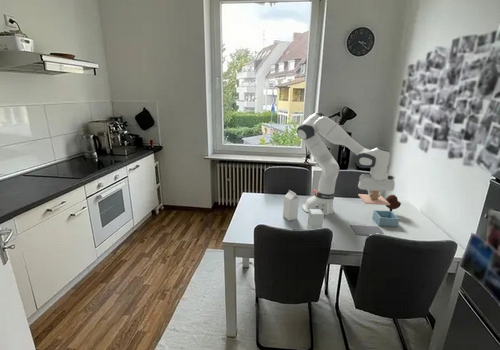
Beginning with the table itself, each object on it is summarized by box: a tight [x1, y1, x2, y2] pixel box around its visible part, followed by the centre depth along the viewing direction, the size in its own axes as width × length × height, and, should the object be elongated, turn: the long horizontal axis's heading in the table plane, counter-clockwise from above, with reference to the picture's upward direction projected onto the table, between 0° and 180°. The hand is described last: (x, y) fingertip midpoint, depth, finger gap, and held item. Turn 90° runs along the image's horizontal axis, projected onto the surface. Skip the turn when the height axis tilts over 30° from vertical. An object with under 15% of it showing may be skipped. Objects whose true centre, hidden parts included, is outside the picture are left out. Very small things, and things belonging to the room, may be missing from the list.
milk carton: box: [282, 189, 300, 221], centre depth 186 cm, size 7×7×19 cm
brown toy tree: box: [384, 194, 402, 212], centre depth 200 cm, size 11×11×15 cm
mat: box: [350, 224, 385, 237], centre depth 175 cm, size 18×12×1 cm, turn 87°
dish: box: [371, 209, 400, 228], centre depth 187 cm, size 12×12×6 cm
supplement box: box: [307, 209, 325, 230], centre depth 172 cm, size 7×7×13 cm
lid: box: [358, 190, 390, 206], centre depth 168 cm, size 14×14×6 cm
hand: (373, 196), depth 169 cm, fingers closed on lid, 3 cm apart
